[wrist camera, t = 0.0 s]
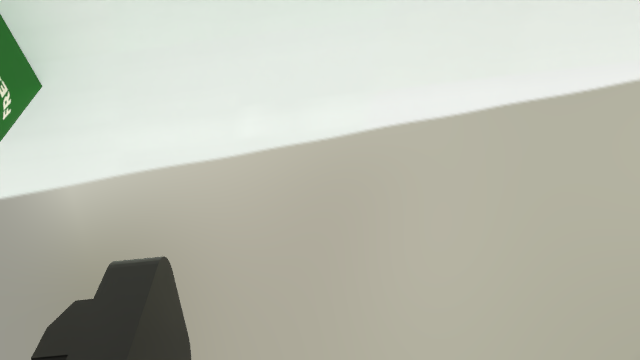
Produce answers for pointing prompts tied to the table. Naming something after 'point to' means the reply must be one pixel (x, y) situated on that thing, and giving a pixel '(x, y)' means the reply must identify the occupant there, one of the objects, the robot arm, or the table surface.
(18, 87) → the milk carton
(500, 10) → the table surface
